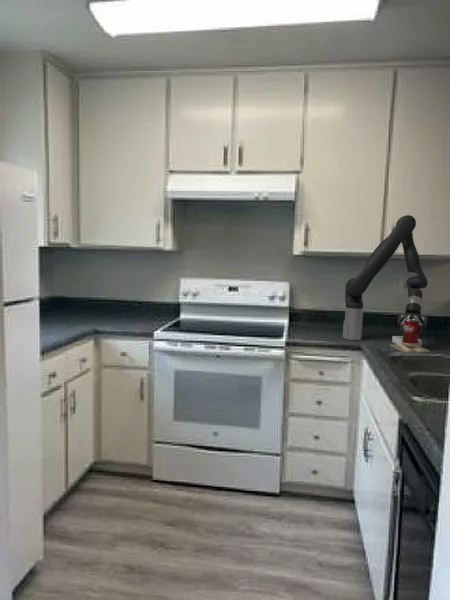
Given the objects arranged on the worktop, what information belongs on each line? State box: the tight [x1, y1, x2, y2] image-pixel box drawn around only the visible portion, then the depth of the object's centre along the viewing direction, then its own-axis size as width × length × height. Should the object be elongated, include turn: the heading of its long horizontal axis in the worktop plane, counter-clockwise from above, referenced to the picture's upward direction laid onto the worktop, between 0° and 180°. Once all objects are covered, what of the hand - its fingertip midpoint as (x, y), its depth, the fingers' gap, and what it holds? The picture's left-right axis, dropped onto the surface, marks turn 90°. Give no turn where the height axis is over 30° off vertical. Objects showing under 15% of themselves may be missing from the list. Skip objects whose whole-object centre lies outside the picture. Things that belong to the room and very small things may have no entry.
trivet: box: [389, 343, 431, 353], centre depth 245 cm, size 14×14×1 cm
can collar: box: [391, 335, 423, 347], centre depth 259 cm, size 11×11×3 cm
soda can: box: [402, 319, 419, 345], centre depth 244 cm, size 7×7×12 cm
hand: (410, 332), depth 243 cm, fingers closed on soda can, 7 cm apart
